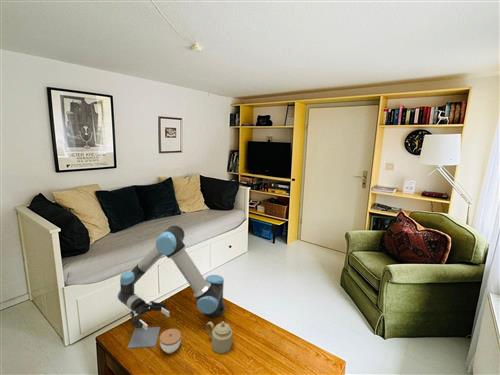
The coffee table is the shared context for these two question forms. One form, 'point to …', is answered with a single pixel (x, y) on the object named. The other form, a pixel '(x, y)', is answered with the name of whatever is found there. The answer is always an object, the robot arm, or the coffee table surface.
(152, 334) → the slate mat
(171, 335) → the lidded jar
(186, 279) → the robot arm
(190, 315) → the coffee table surface
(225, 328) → the beige teapot
